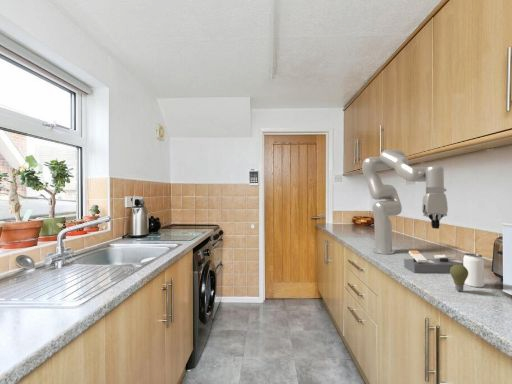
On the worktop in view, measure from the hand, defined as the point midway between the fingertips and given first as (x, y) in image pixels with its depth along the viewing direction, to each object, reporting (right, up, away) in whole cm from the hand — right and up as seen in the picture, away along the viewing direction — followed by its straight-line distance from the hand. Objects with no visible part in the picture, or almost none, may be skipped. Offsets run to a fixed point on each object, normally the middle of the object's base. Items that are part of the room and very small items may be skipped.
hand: (435, 228), depth 137 cm
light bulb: (-13, -20, -33) cm, 40 cm away
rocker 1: (-12, -13, -5) cm, 18 cm away
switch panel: (-4, -19, -6) cm, 20 cm away
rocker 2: (0, -13, -6) cm, 14 cm away
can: (-2, -19, -27) cm, 33 cm away
